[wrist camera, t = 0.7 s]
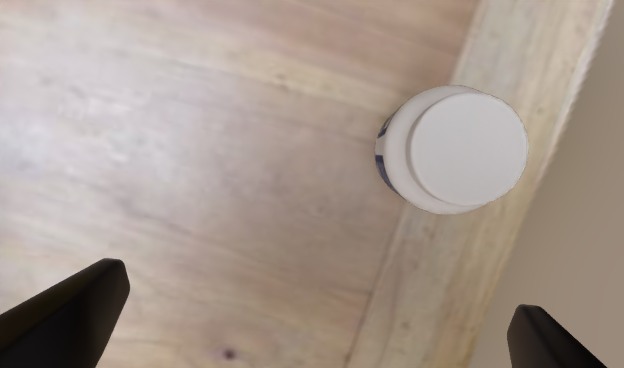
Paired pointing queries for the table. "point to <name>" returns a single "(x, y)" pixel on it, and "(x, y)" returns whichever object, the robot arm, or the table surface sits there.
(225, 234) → the table surface
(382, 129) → the pill bottle
